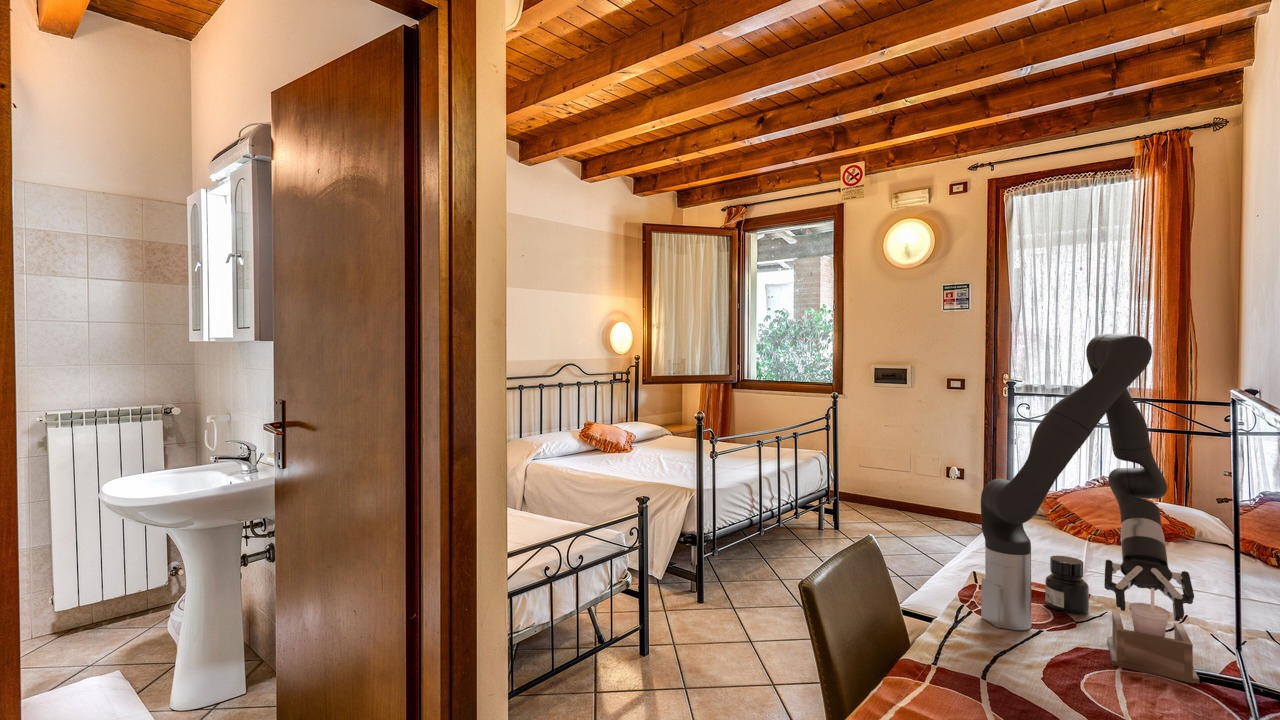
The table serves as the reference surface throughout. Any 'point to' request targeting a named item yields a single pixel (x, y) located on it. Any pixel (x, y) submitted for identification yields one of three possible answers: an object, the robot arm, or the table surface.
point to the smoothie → (1149, 617)
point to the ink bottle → (1067, 586)
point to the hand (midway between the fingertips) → (1149, 614)
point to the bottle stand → (1152, 652)
